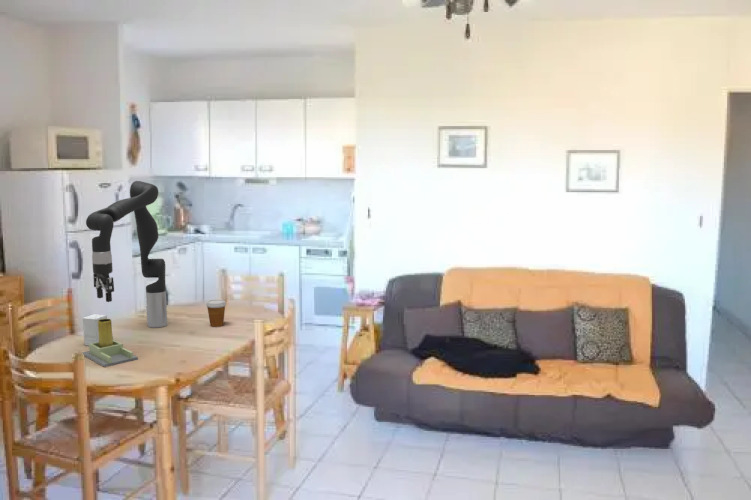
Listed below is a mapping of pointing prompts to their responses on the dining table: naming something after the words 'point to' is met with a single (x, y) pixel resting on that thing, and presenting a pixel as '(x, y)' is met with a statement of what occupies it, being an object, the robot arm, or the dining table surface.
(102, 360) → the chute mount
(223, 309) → the disposable coffee cup
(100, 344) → the vase
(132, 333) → the dining table surface
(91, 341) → the supplement box
